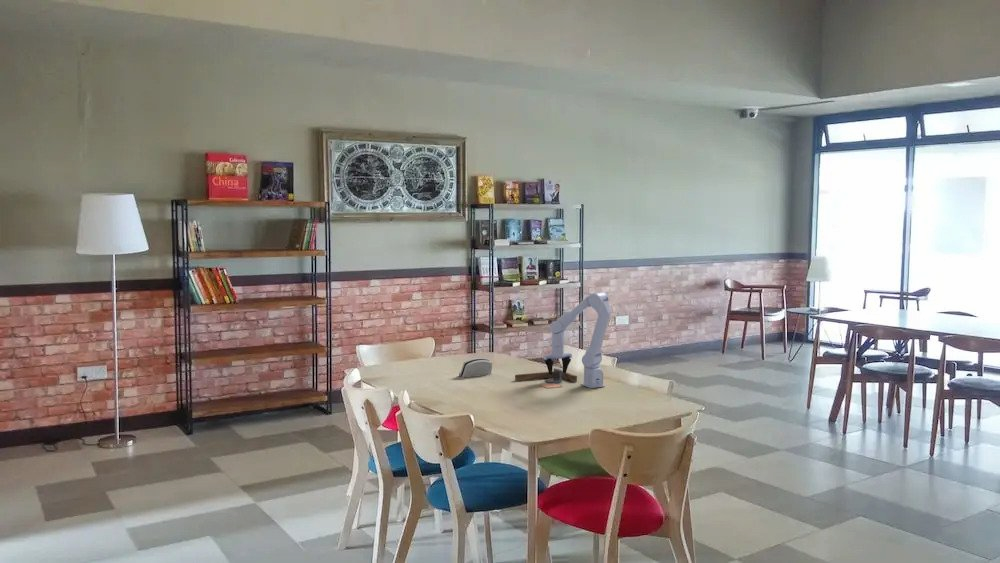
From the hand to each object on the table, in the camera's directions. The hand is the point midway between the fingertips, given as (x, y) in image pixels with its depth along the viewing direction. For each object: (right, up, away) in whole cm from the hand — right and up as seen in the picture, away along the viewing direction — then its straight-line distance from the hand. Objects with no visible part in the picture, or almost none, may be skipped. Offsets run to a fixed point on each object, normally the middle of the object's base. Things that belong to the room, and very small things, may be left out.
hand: (557, 373), depth 396 cm
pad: (-4, -5, -10) cm, 12 cm away
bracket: (-2, -4, -1) cm, 5 cm away
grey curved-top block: (-39, -3, +15) cm, 42 cm away
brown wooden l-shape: (-6, -4, +1) cm, 7 cm away
